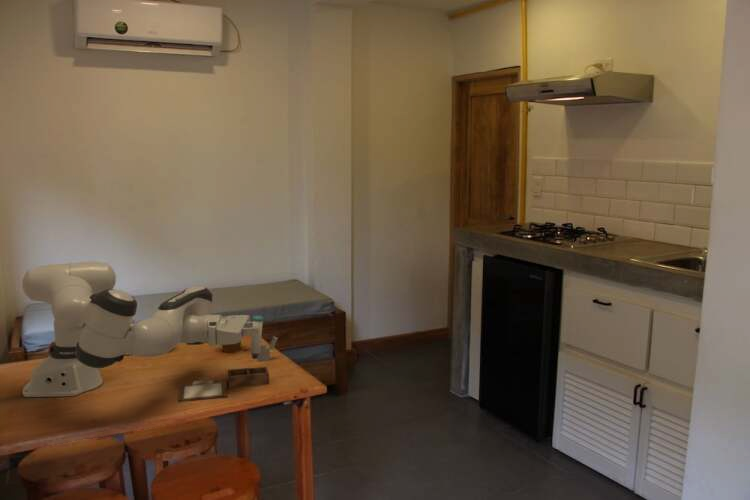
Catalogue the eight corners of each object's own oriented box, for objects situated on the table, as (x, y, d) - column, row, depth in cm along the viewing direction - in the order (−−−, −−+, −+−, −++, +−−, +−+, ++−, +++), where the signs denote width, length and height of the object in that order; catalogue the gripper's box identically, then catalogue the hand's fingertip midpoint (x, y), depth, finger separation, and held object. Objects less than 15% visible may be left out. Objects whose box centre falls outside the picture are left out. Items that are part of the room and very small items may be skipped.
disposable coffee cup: (224, 345, 241) (222, 314, 239) (248, 346, 239) (247, 315, 237) (214, 353, 231) (213, 321, 229) (239, 354, 230) (238, 322, 228)
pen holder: (228, 387, 199) (228, 376, 198) (228, 380, 205) (227, 369, 204) (269, 384, 202) (268, 373, 201) (267, 376, 208) (266, 366, 208)
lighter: (258, 361, 223) (257, 339, 222) (257, 360, 224) (256, 338, 223) (278, 358, 226) (277, 337, 224) (277, 357, 227) (276, 335, 226)
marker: (249, 359, 201) (253, 318, 198) (249, 356, 204) (253, 315, 201) (259, 359, 201) (263, 318, 199) (259, 356, 204) (263, 315, 202)
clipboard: (178, 401, 188) (178, 396, 187) (180, 387, 199) (179, 382, 199) (227, 397, 191) (226, 392, 191) (225, 383, 203) (225, 378, 202)
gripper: (222, 329, 211) (264, 328, 212) (209, 348, 191) (255, 348, 192) (221, 310, 210) (264, 310, 211) (208, 328, 190) (254, 327, 190)
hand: (259, 328), depth 201 cm, fingers closed on marker, 3 cm apart
